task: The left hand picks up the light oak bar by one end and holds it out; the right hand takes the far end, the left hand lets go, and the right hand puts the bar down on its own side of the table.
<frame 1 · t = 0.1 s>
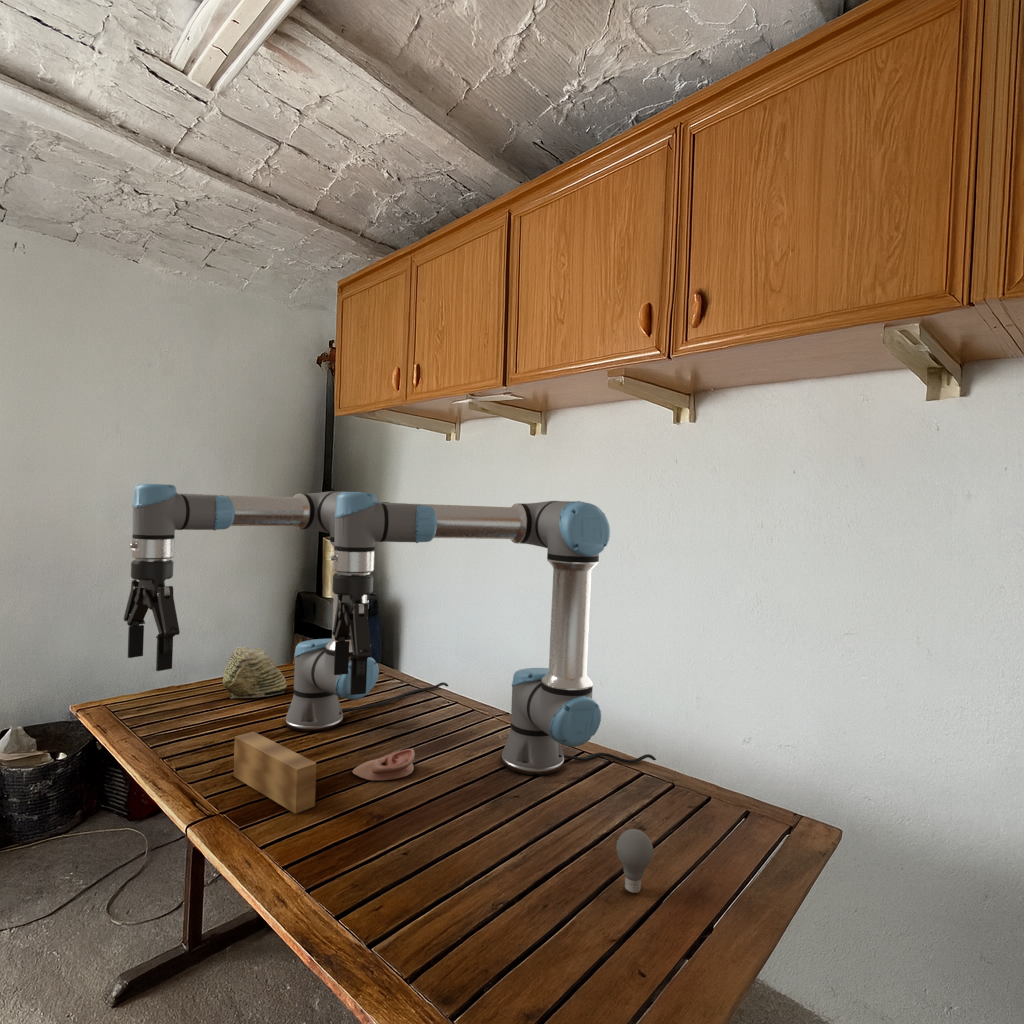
left hand: (149, 663, 129), 28 cm above the table, tool pointing down, fingers open, 13 cm apart
right hand: (349, 683, 121), 28 cm above the table, tool pointing down, fingers open, 13 cm apart
light bulb: (632, 891, 106), on the table
anatomical model: (383, 771, 147), on the table
bar: (272, 790, 136), on the table
fossil: (254, 694, 198), on the table
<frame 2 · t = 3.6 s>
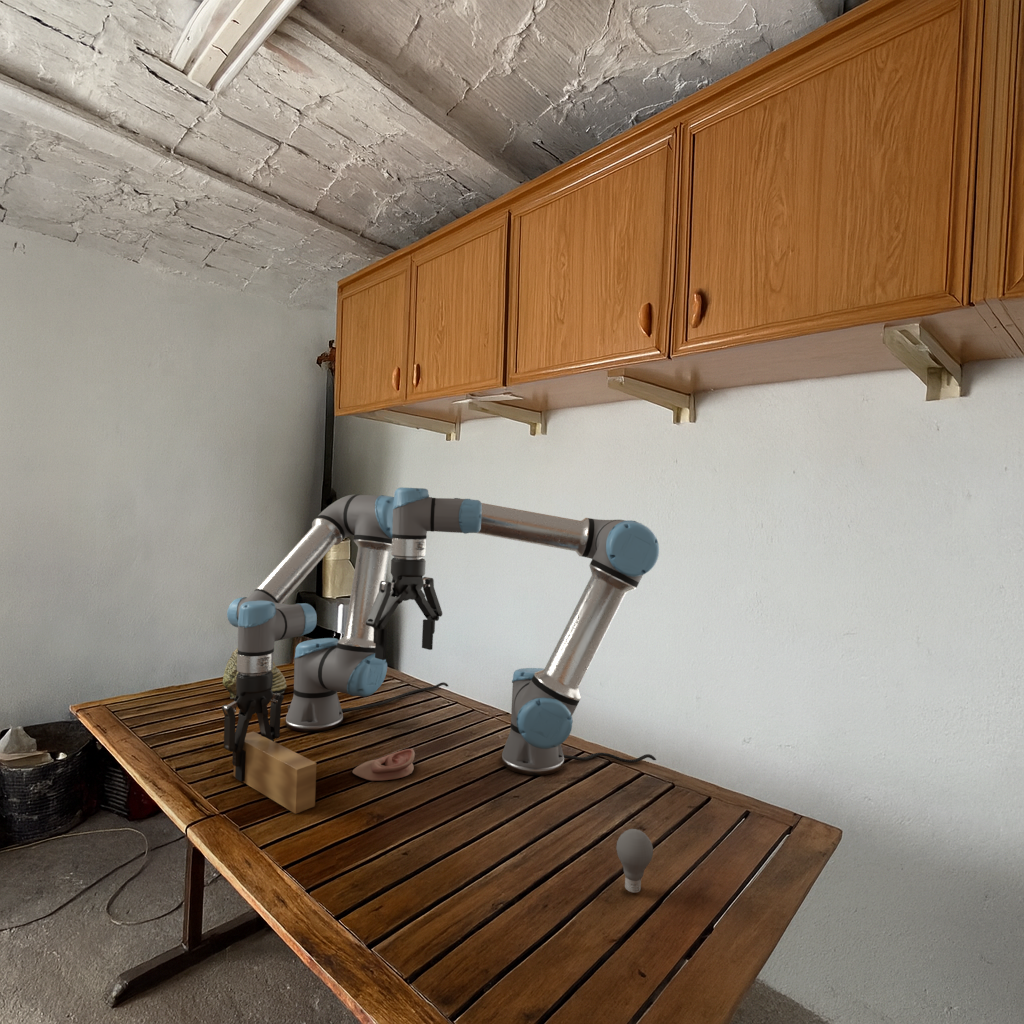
left hand: (251, 775, 141), 1 cm above the table, tool pointing down, fingers closed on bar, 4 cm apart
right hand: (404, 653, 140), 30 cm above the table, tool pointing down, fingers open, 13 cm apart
bar: (272, 790, 136), on the table, touching left hand
everything else where it was.
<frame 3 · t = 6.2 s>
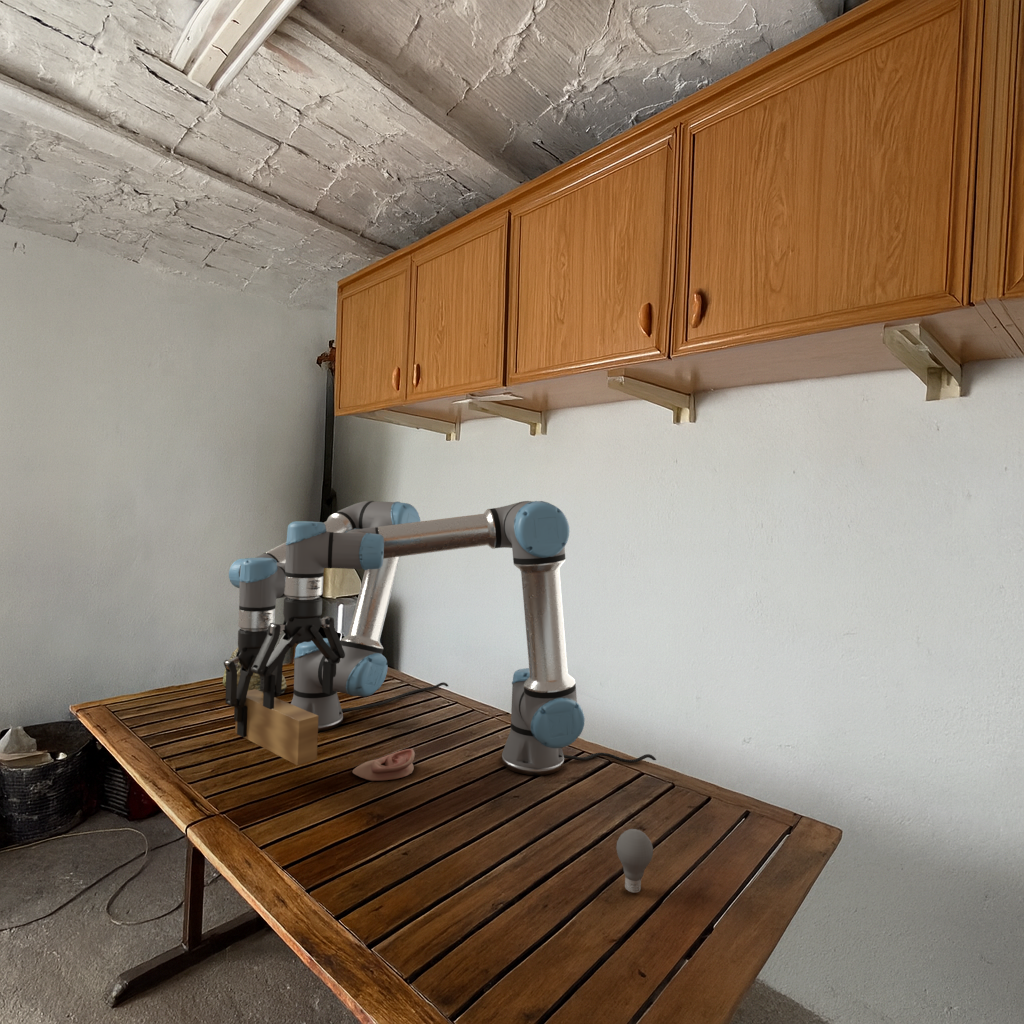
left hand: (252, 731, 141), 10 cm above the table, tool pointing down, fingers closed on bar, 4 cm apart
right hand: (299, 700, 130), 22 cm above the table, tool pointing down, fingers open, 13 cm apart
bar: (274, 745, 135), point 10 cm above the table, touching left hand
everything else where it was.
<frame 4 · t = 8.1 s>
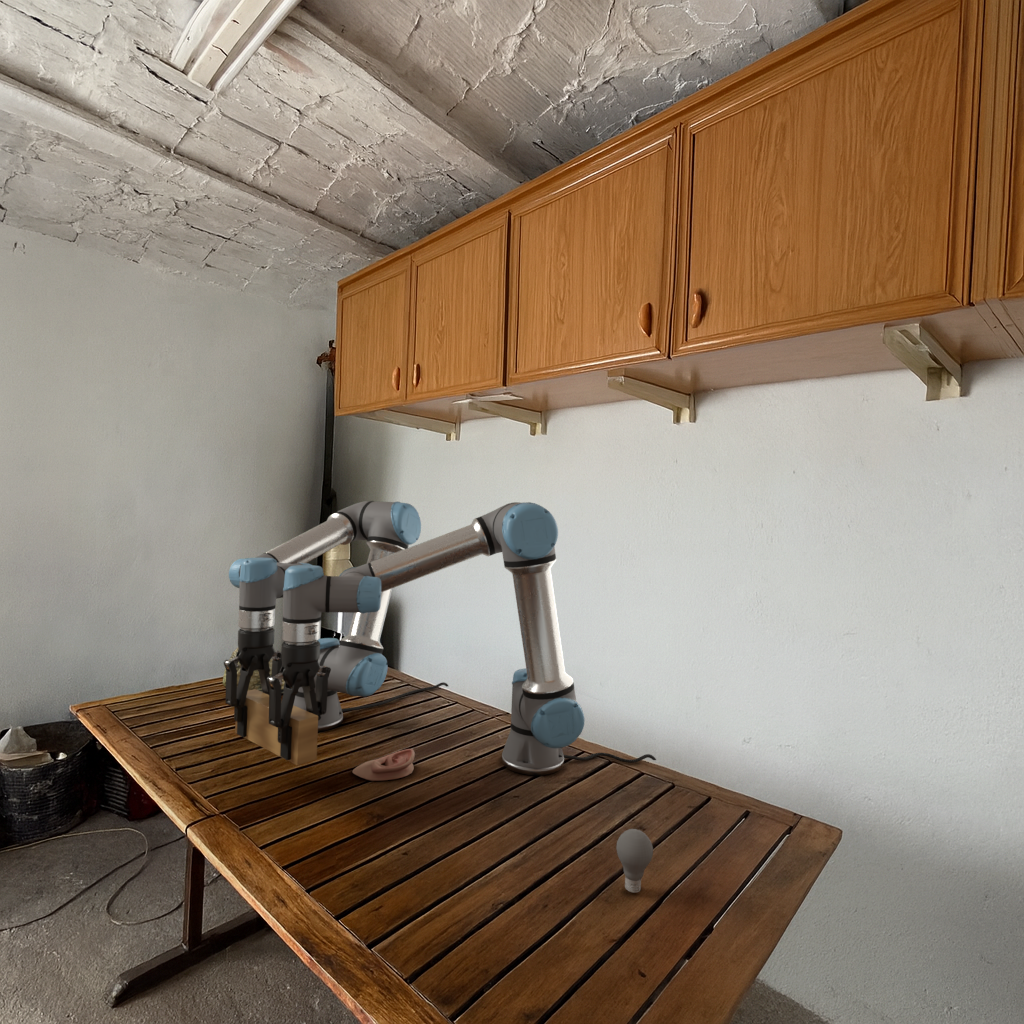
left hand: (252, 731, 141), 10 cm above the table, tool pointing down, fingers closed on bar, 4 cm apart
right hand: (296, 753, 130), 10 cm above the table, tool pointing down, fingers closed on bar, 4 cm apart
bar: (274, 745, 135), point 10 cm above the table, touching left hand, right hand
everything else where it was.
when the left hand's fingers open (10 cm above the table, at t = 8.7 s): bar stays where it is, held by the right hand.
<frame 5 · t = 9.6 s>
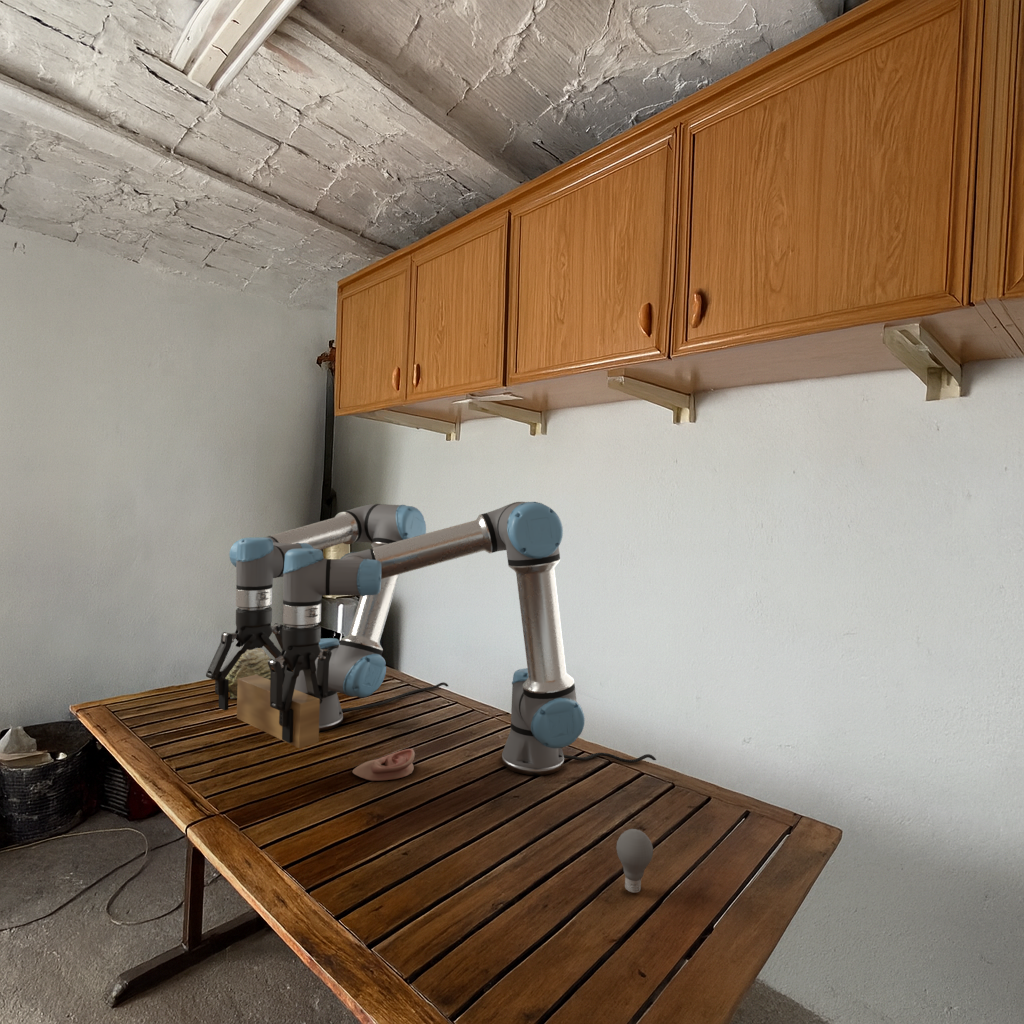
left hand: (252, 700, 142), 17 cm above the table, tool pointing down, fingers open, 13 cm apart
right hand: (298, 737, 130), 14 cm above the table, tool pointing down, fingers closed on bar, 4 cm apart
bar: (275, 729, 135), point 13 cm above the table, touching right hand
everything else where it was.
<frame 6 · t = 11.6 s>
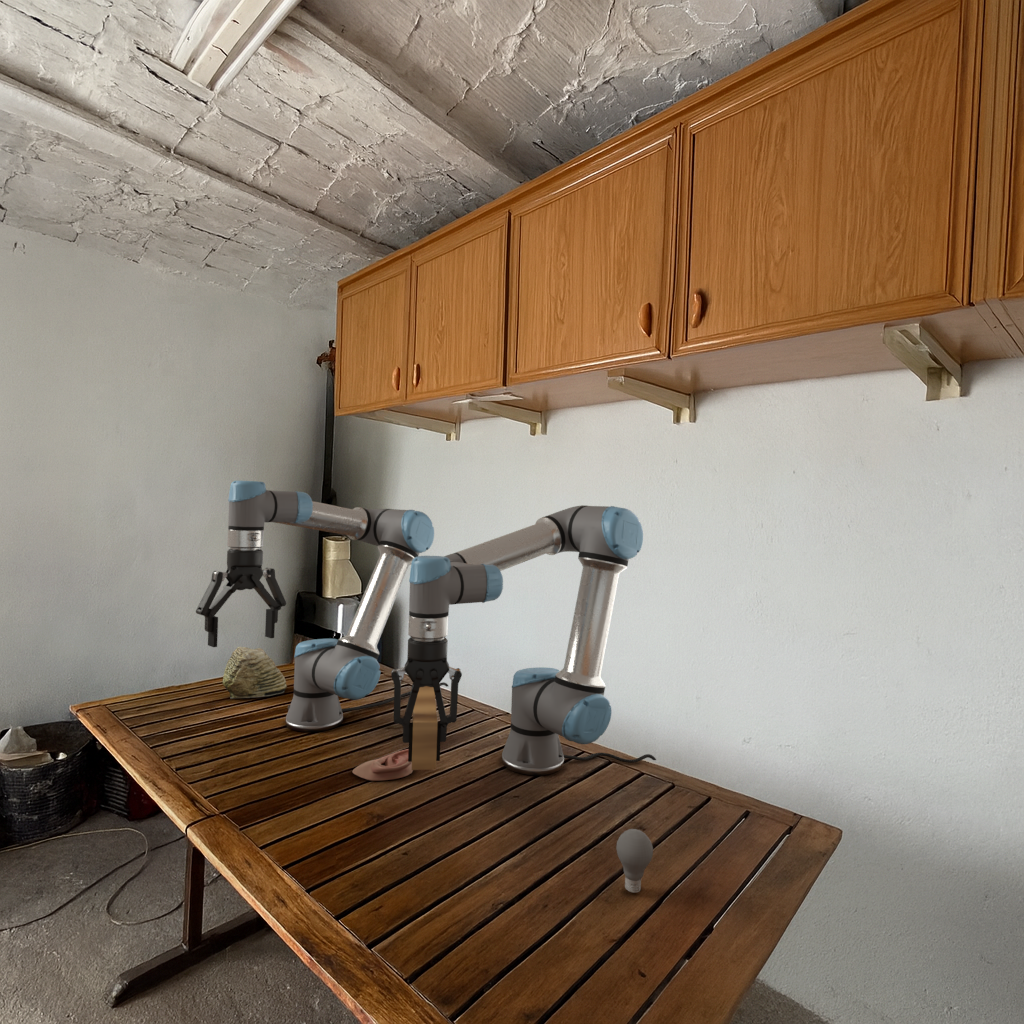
left hand: (242, 641, 144), 29 cm above the table, tool pointing down, fingers open, 13 cm apart
right hand: (423, 758, 121), 14 cm above the table, tool pointing down, fingers closed on bar, 4 cm apart
bar: (423, 743, 130), point 14 cm above the table, touching right hand
everything else where it was.
when the right hand's fingers open (2 cm above the table, at t = 15.1 s): bar drops 1 cm, on the table.
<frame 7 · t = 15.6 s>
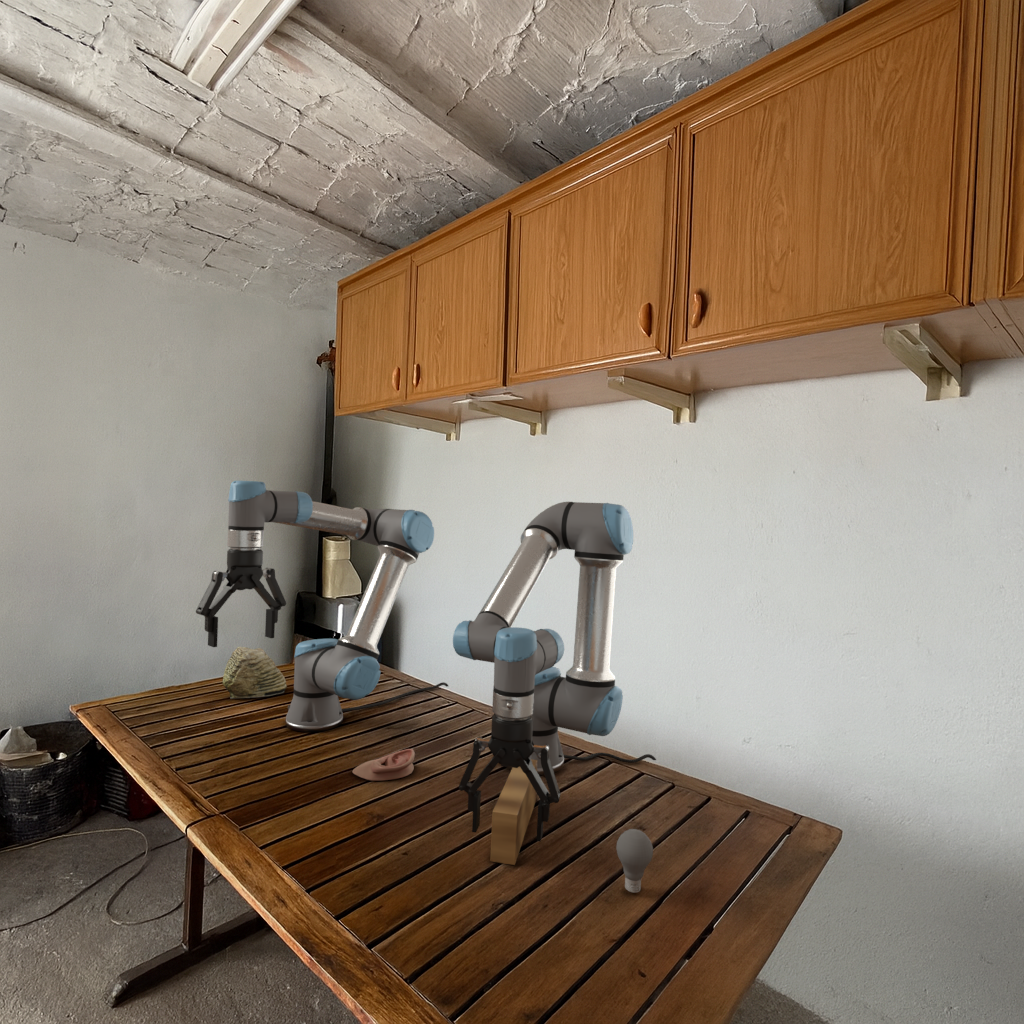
left hand: (242, 641, 144), 29 cm above the table, tool pointing down, fingers open, 13 cm apart
right hand: (507, 833, 116), 3 cm above the table, tool pointing down, fingers open, 11 cm apart
bar: (515, 828, 124), on the table
everything else where it was.
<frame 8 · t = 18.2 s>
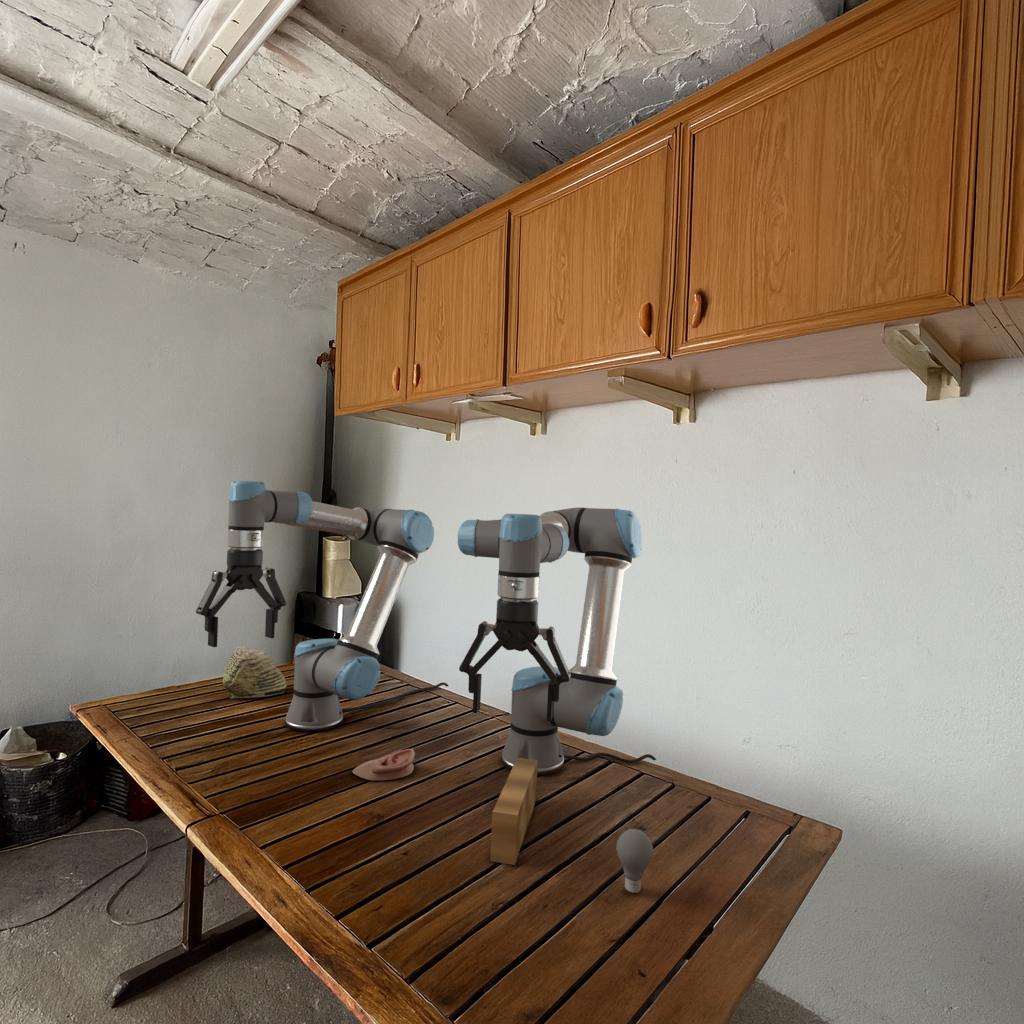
left hand: (242, 641, 144), 29 cm above the table, tool pointing down, fingers open, 13 cm apart
right hand: (512, 714, 115), 25 cm above the table, tool pointing down, fingers open, 13 cm apart
nothing on the table moved.
at the end: bar inside the target area (8.5 cm from its centre), on the table; the left hand is holding nothing; the right hand is holding nothing; bar at rest at the end (0.0 cm/s) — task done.
